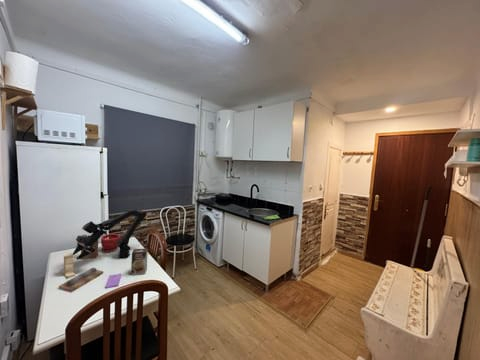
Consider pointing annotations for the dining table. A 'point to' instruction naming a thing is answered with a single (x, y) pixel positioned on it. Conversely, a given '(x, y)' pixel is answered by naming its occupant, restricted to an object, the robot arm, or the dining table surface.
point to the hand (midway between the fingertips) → (75, 256)
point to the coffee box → (139, 261)
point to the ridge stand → (80, 280)
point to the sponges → (113, 281)
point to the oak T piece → (68, 266)
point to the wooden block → (92, 255)
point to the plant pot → (109, 242)
